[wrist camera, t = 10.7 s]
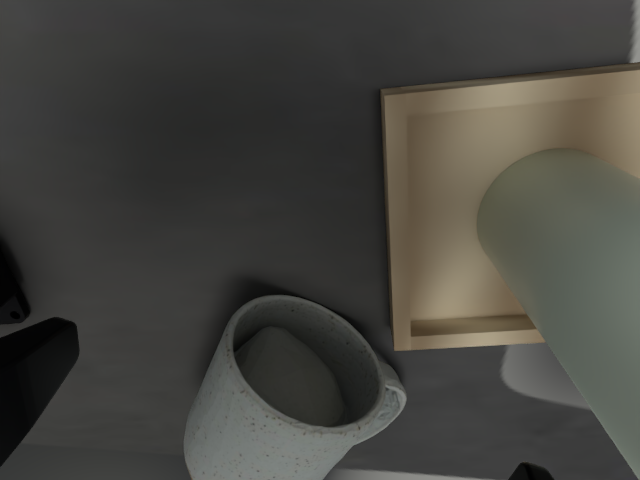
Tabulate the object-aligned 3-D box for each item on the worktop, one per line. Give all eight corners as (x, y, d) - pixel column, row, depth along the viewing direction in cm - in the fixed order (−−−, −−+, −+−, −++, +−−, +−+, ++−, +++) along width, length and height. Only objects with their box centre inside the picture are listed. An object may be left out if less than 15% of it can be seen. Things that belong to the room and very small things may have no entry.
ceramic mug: (197, 384, 26) (148, 519, 19) (244, 273, 22) (206, 388, 15) (363, 438, 27) (374, 580, 21) (430, 343, 24) (471, 475, 17)
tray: (390, 328, 23) (394, 351, 22) (380, 88, 18) (384, 95, 16) (673, 310, 22) (699, 333, 21) (749, 51, 17) (793, 54, 15)
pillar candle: (455, 257, 21) (620, 565, 9) (514, 130, 18) (856, 327, 6) (573, 288, 21) (876, 616, 9) (647, 170, 19) (1187, 418, 7)
